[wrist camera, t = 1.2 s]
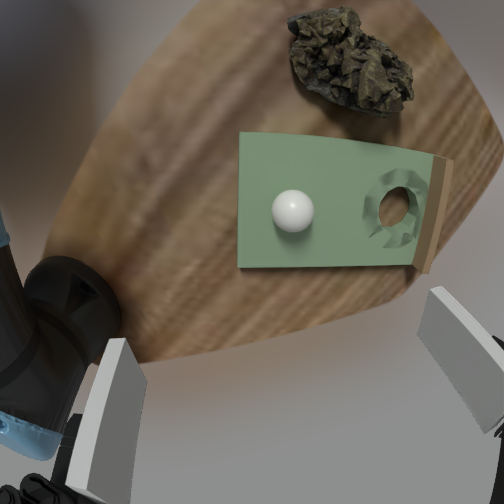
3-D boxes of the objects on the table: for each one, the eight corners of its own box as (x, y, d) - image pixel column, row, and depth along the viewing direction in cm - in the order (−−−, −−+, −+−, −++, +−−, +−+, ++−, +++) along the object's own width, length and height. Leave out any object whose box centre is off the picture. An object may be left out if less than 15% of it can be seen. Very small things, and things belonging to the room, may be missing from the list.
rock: (382, 142, 29) (439, 85, 22) (352, 143, 22) (431, 62, 15) (307, 71, 31) (353, 16, 24) (256, 56, 24) (312, -19, 17)
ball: (267, 223, 29) (273, 239, 26) (269, 184, 28) (276, 194, 24) (306, 224, 30) (316, 239, 26) (309, 186, 28) (321, 196, 24)
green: (237, 259, 33) (238, 279, 29) (239, 131, 27) (240, 133, 23) (416, 257, 35) (433, 273, 31) (436, 155, 29) (459, 162, 25)
